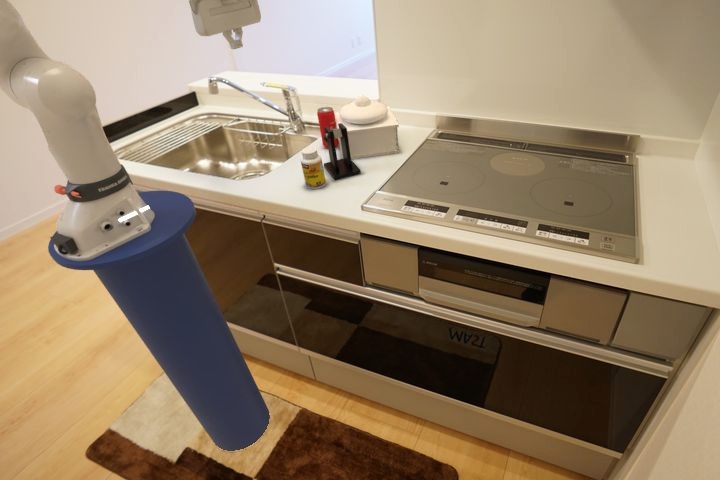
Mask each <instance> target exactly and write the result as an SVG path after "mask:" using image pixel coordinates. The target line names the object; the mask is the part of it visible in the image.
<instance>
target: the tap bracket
mask: <svg viewBox="0 0 720 480" xmlns="http://www.w3.org/2000/svg"><path fill="white" fill-rule="evenodd" d="M338 127H339V128H340V129H341V133H342V137H341V138H340V139H341V146H342V152H343V158H340V159H338V155H337V150H336V149H337V148H335V143H334V137H333V131H332V130H331V129H330V128H329V127H328V126H326V127H324V128H325V136H326V139H327V145H328V149H327V150H328V156H329V161H328V162H324V163H323V168H324V169H325V170H326V171H327V173H328V174H329V176H331V178H332V180H333V181H339V180H342V179H346V178H350V177H354V176H357V175H361V174H362V171H361V169H360V167H358V165H356V164H355V162H354V161H353V159H351V155H350V148H349V141H348V134H347V128H346V127H345V126H344V125H343V124H342V123H340V124H338Z"/></svg>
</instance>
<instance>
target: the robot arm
mask: <svg viewBox="0 0 720 480" xmlns="http://www.w3.org/2000/svg"><path fill="white" fill-rule="evenodd" d="M188 3H189V6H190V11H191V17H192V21H193V25H194V29H195V31H196V33H197V34H198V35H199V36H200V37H211V36H214V35H219V34H222V36H223V37H224V38H225V40H226V41H227V42H228V44H229V48H230V49H231V50H237V49H240V48H244V47H243V46H244V44H243V32H244V31H243V27H247V26H251V25H255V24H259V23H261V19H262V14H261V10H260V5H259V1H258V0H188ZM233 33H234V37H233V36H232V35H233ZM0 89H1V91H2V92H3V93H5V95H6V96H7V97H8V98H9V99H10V100H11V101H13V102H14V103H15V104H17V105H19V106H21V107H22V108H25V109H28V110H29V111H30V112H31V113H32V115H33V116H34V117H35V120H37V123H38V125H39V126H40V129H41V132H42V133H43V136H44V138H45V141H46V144H47V148H48V151H49V152H50V154H51V156H52V157H53V159H54V160H55V163H57V165H58V166H59V168H60V170H61V171H62V173H63V174H64V176H65V178H66V179H67V181H66V186H64V185H61V184H57V185H55V186H54V187H53V190H54V192H55V193H56V194H58V195H62V196H65V195H66V196H67V198H68V201H67V203H66V204H65V206H64V209H63V210H62V212H61V213H60V215H59V217H58V219H57V220H56V223H55V228H56V231H57V232H58V233H57V234H56V235H54V234H53V235H54V236H53V235H52V236H50V237H49V238H50V240H52V241H53V242H54V244H55V245H54V248H55V250H56V252H57V253H58V254H59V255H60V256H62V257H64V258H66V259H69V260H74V261H88V260H91V259H94V258H96V257H98V256H100V255H102V254H104V253H106V252H108V251H110V250H112V249H114V248H116V247H118V246H120V245H122V244H124V243H126V242H128V241H130V240H133V239H135V238H137V237H139V236H141V235H143V234H145V233H147V232H149V231H150V230H151V223H152V221H153V220H154V217H155V214H154V212H153V211H152V210H151V209H150V208H149V206H147V205H146V204H145V202H144V201H143V200H142V199H141V197H140V196H139V194H138V193H139V192H138V191H137V190H136V189H135V187H134V183H133V181H132V179H131V176H130V174H129V173H128V171H127V170H126V168H125V166H124V165H123V164H122V163H121V162H120V161H119V159H118V157H117V155H116V153H115V151H114V150H113V147H112V145H111V144H110V141H109V140H108V137H107V135H106V133H105V130H104V127H103V125H102V122H101V118H100V115H99V114H100V113H99V111H98V108H97V104H96V103H97V95H96V91H95V88H94V87H93V85H92V84H91V82H90V81H89V80H88V78H86V76H84V75H83V74H82V73H81V72H79V70H77V69H76V68H74V67H73V66H71V65H69V64H67V63H64V62H62V61H57V60H53V59H52V58H51V57H50V56H49V55H48V54H46V53H45V51H44V50H43V48H42V47H41V45H39V43H38V41H37V40H36V39H35V37H34V36H33V35H32V33H31V31H30V30H29V28H28V27H27V25H26V23H25V22H24V19H23V17H22V15H21V13H20V12H19V11H18V9H16V7H15V6H14V5H13V3H11V2H10V1H9V0H0Z"/></svg>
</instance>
